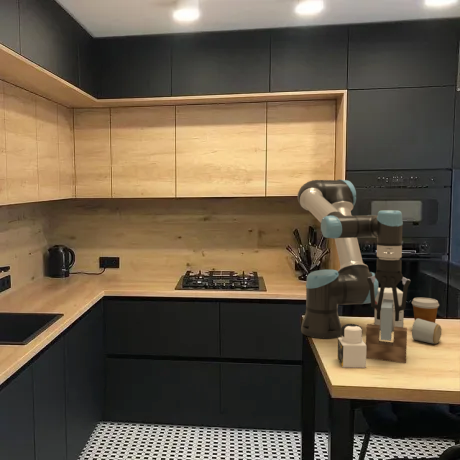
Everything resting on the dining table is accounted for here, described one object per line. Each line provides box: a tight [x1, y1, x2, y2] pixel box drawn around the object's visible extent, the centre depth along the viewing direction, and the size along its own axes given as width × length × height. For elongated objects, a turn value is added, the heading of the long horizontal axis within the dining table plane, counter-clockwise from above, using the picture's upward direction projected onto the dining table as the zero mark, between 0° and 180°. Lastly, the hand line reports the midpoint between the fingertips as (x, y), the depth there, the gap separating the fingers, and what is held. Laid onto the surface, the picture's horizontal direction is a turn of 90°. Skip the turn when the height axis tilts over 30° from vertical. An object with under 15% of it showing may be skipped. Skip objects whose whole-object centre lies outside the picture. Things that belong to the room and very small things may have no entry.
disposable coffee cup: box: [411, 297, 440, 323], centre depth 170 cm, size 10×10×12 cm
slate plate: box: [380, 299, 393, 342], centre depth 141 cm, size 3×12×10 cm, turn 158°
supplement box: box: [373, 287, 405, 332], centre depth 175 cm, size 9×9×15 cm
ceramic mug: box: [411, 318, 443, 345], centre depth 159 cm, size 11×8×8 cm
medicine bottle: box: [337, 323, 367, 369], centre depth 138 cm, size 7×7×12 cm
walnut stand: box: [365, 323, 408, 364], centre depth 142 cm, size 12×4×10 cm, turn 68°
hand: (387, 329), depth 146 cm, fingers closed on slate plate, 3 cm apart
